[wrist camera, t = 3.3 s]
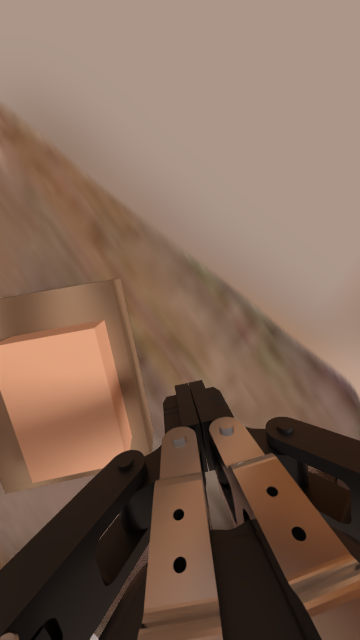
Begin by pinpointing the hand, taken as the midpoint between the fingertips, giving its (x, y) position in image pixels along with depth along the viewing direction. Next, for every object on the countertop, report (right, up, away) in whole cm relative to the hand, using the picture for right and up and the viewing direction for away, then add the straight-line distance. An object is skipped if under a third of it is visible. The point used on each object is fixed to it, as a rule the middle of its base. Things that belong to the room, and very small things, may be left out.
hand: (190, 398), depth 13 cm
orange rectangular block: (-8, -1, +3) cm, 8 cm away
